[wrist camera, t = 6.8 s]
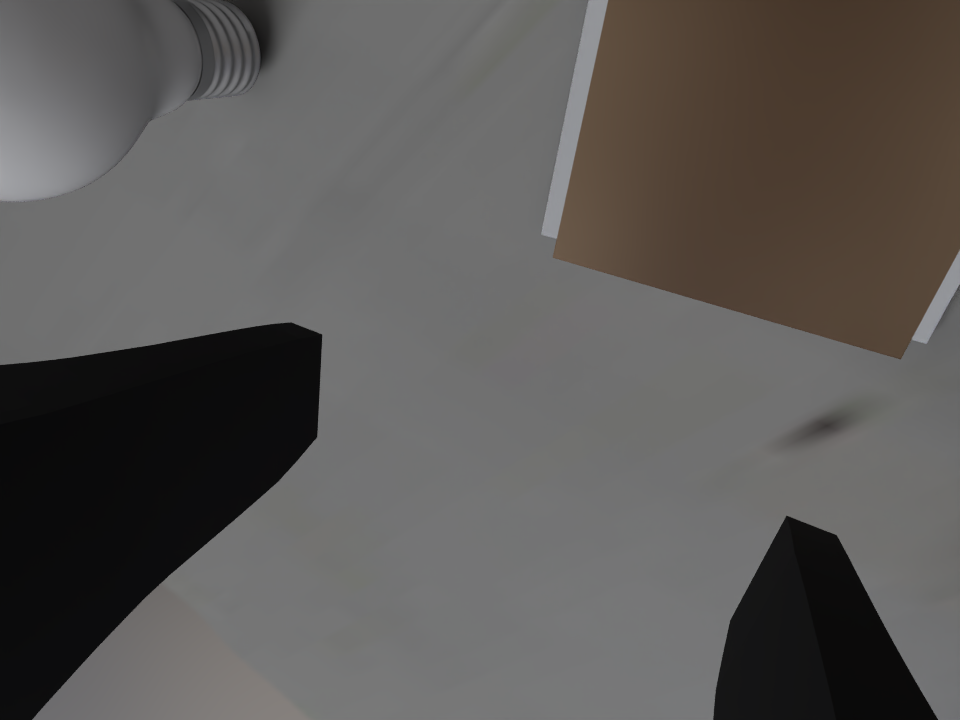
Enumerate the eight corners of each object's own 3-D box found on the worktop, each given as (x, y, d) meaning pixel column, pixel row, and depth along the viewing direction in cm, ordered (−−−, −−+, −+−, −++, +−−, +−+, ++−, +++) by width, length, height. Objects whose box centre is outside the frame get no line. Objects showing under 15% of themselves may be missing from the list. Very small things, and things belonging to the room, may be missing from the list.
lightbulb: (293, -97, 18) (-214, -234, 9) (345, 141, 20) (-16, 220, 11) (138, -42, 21) (-370, -107, 12) (200, 162, 23) (-184, 239, 14)
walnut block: (1006, -35, 9) (1139, -85, 6) (868, 258, 12) (900, 360, 8) (694, -75, 11) (637, -136, 7) (624, 195, 13) (553, 257, 9)
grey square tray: (1205, -175, 11) (1217, -181, 11) (923, 337, 16) (926, 343, 16) (637, -213, 14) (633, -219, 14) (545, 230, 19) (541, 234, 19)
